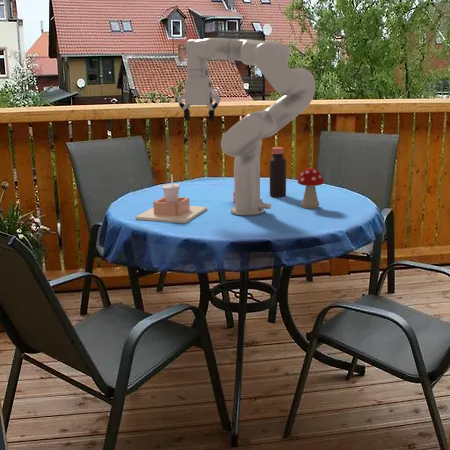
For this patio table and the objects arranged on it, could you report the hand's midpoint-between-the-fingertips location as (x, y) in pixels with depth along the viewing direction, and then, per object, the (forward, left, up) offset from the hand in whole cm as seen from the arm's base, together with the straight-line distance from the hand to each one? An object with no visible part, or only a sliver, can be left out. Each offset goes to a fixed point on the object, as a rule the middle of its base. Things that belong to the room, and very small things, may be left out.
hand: (199, 120), depth 227 cm
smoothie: (+6, +15, -32) cm, 36 cm away
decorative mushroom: (-41, -9, -33) cm, 54 cm away
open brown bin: (+6, +15, -33) cm, 37 cm away
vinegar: (-24, -24, -33) cm, 47 cm away
